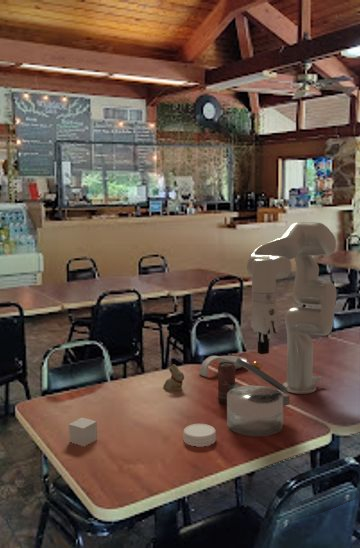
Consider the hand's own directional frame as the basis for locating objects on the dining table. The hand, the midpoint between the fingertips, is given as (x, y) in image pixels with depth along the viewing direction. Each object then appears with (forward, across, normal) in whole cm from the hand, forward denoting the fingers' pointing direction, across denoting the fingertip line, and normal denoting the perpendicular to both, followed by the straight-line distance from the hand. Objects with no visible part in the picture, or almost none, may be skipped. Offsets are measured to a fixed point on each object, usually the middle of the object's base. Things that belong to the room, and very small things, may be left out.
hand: (263, 353), depth 180 cm
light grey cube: (+24, +11, +57) cm, 63 cm away
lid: (+8, 0, +1) cm, 8 cm away
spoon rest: (+24, +55, -13) cm, 61 cm away
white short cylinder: (+24, -3, +24) cm, 34 cm away
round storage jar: (+24, +4, +2) cm, 24 cm away
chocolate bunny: (+24, +42, +15) cm, 51 cm away
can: (+24, +22, +2) cm, 33 cm away
